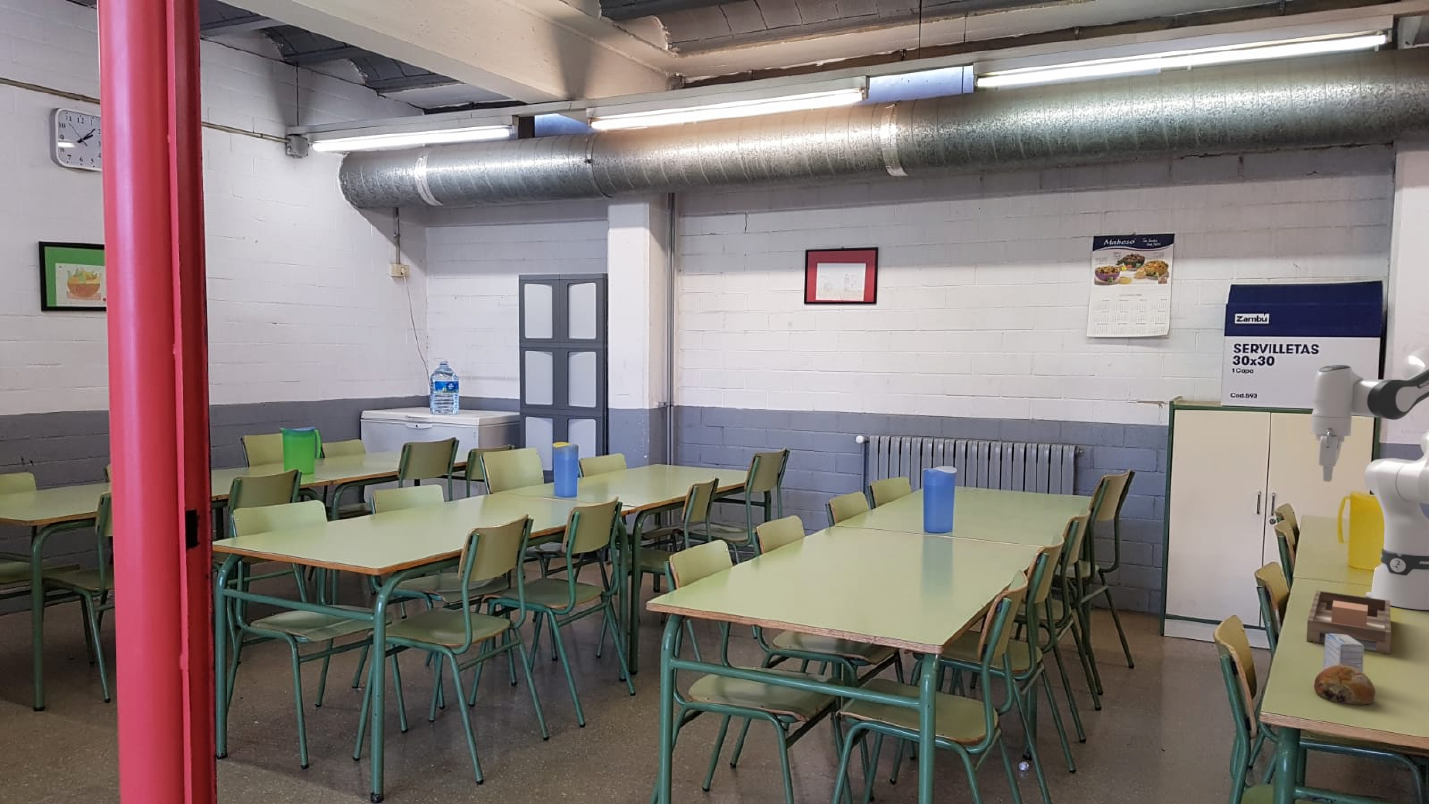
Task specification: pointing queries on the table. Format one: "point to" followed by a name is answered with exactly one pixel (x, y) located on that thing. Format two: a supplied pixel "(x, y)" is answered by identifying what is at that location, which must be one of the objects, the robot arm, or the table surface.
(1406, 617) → the table surface
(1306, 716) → the table surface
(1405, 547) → the robot arm
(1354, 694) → the bread roll
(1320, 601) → the tray
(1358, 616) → the block
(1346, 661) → the medicine box
